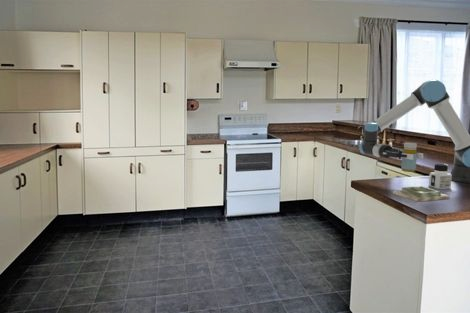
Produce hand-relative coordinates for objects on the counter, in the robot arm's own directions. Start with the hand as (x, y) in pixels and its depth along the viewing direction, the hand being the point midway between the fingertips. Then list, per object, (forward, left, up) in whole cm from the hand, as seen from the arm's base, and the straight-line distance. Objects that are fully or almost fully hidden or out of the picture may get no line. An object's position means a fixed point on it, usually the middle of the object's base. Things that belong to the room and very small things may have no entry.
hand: (417, 156), depth 197 cm
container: (-18, -1, -18) cm, 25 cm away
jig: (+6, +11, -18) cm, 22 cm away
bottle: (+1, -5, -9) cm, 10 cm away
